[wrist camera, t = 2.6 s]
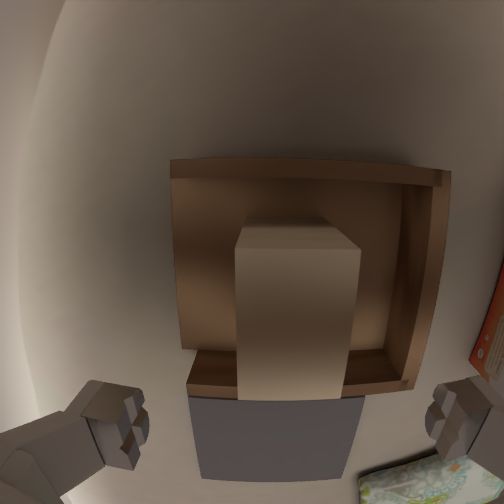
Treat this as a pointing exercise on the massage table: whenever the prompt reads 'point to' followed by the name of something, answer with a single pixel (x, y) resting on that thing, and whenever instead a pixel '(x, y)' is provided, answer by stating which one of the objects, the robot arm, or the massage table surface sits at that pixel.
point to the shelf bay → (340, 216)
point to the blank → (293, 308)
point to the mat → (273, 438)
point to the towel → (431, 483)
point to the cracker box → (492, 342)
